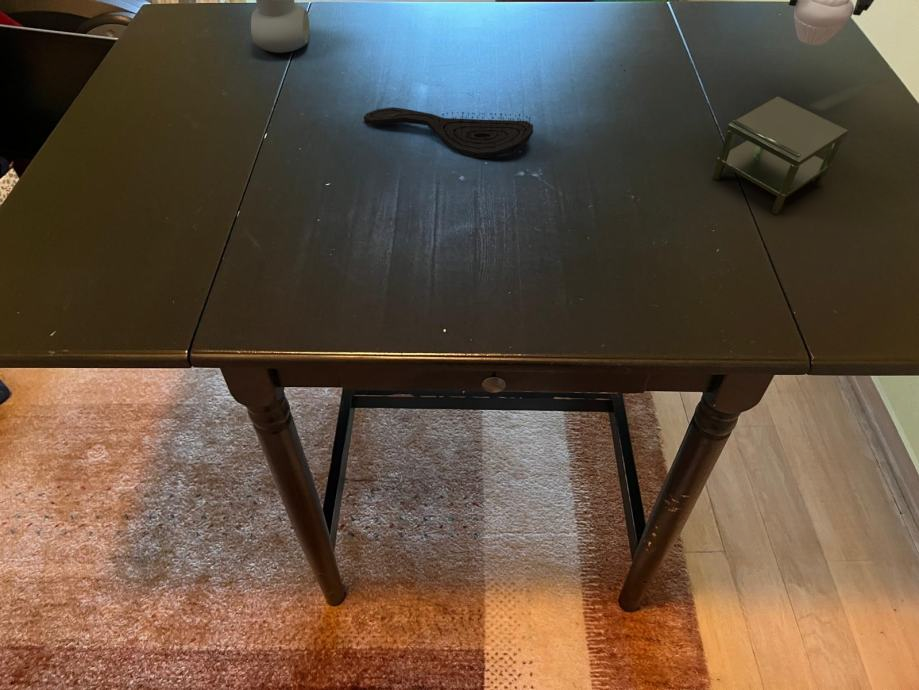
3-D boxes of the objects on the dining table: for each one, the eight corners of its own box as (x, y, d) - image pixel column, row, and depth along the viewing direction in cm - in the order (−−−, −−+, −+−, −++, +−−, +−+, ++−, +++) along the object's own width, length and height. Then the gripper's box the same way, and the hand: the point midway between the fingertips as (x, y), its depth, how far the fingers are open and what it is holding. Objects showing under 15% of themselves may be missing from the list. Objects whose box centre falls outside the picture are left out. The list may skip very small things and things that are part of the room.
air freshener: (264, 30, 118) (250, -32, 110) (312, 28, 118) (301, -33, 111) (255, 62, 111) (238, -2, 104) (306, 60, 111) (293, -3, 104)
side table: (758, 149, 94) (779, 91, 87) (822, 184, 89) (851, 125, 82) (711, 177, 90) (730, 119, 83) (775, 216, 85) (801, 156, 78)
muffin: (852, 42, 78) (879, -23, 72) (815, 57, 76) (841, -8, 70) (808, 21, 81) (831, -43, 76) (772, 35, 79) (793, -29, 74)
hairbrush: (373, 87, 100) (540, 107, 94) (377, 110, 103) (539, 131, 97) (350, 118, 95) (524, 141, 89) (354, 141, 98) (524, 165, 92)
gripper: (811, -186, 70) (761, -18, 72) (968, -174, 67) (910, 3, 69) (797, -140, 77) (752, 11, 80) (938, -127, 74) (886, 31, 76)
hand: (825, 7), depth 74 cm, fingers closed on muffin, 6 cm apart
